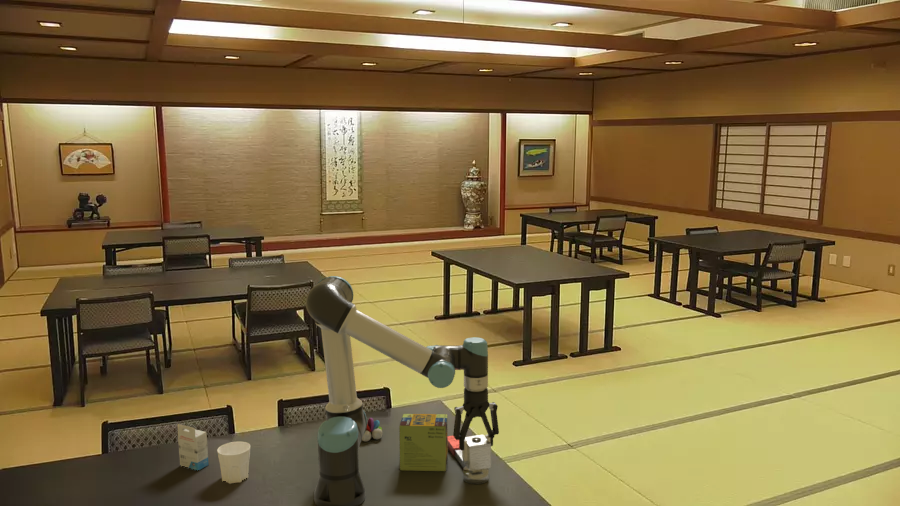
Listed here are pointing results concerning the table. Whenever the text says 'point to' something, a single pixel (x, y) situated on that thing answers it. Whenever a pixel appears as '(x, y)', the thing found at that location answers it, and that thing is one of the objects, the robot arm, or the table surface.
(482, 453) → the metal cube with knob
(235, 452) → the cup
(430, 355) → the robot arm
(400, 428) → the protein box
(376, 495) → the table surface
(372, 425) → the rainbow finned toy
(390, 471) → the table surface
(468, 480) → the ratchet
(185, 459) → the ink box
